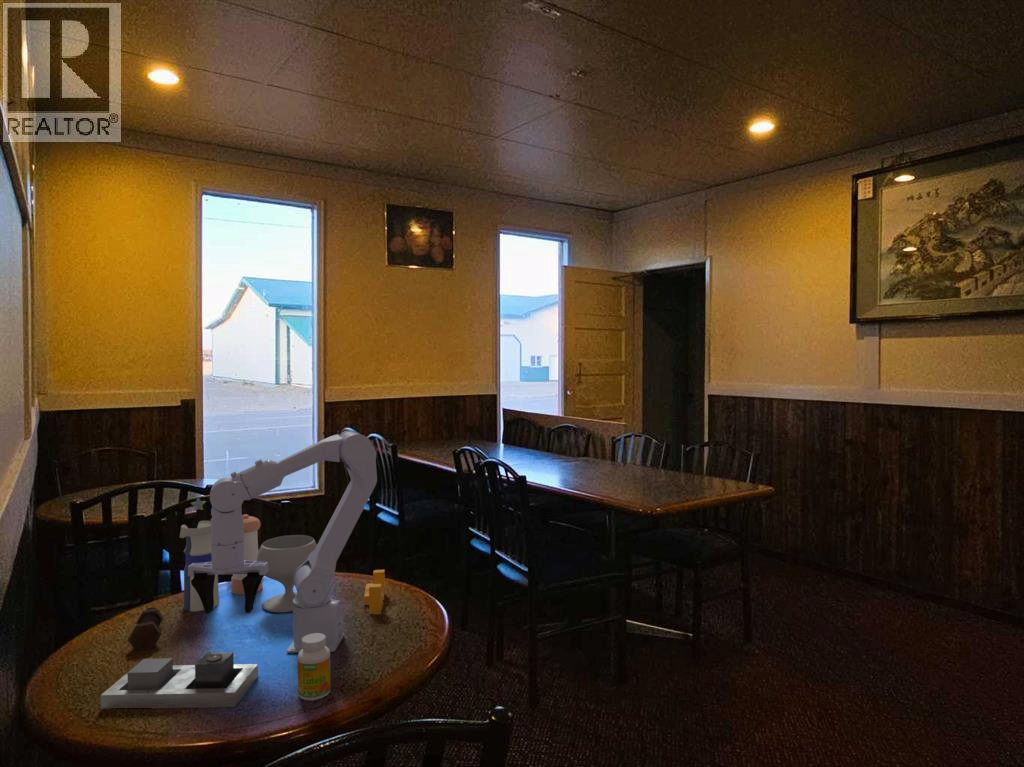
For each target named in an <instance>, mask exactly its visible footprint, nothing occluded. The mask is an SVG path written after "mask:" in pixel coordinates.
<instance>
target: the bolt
mask: <svg viewBox="0 0 1024 767" xmlns="http://www.w3.org/2000/svg"><path fill="white" fill-rule="evenodd" d="M163 619H164V616H163V614H162V613H161V611H160V610H159V609H158V608H156V607H148V608H146V609H145V610H142V612H141V614H140V615H139V617H138V619H137V620H136V624H135V626H134V628H133V629H132V631H131V633H130V634H129V637H128V639H127V642H129V644H130V646H131V647H132V648H133V650H135V651H144V650H149V649H150V650H151V649H152V648H155V646H156V645H157V643H158V641H159V639H160V637H161V635H162V631H161V629H160V628H159V627H160V625H161V623H162V621H163Z"/></svg>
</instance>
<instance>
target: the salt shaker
mask: <svg viewBox="0 0 1024 767" xmlns="http://www.w3.org/2000/svg"><path fill="white" fill-rule="evenodd" d="M242 515H243V524H244V560H248V561H257V557H258V552H259V544H258V543H259V542H258V541H259V539H258V538H259V537H258V536H259V535H258V530H259V529H260V528H261V526H262V524H261V521H260V519H259V518H258V517H255V516H250V515H249V514H247V513H246V514H242ZM246 576H247V574H232V576H231V577H230V578H231V579H230V582H231V583H230V585H231V588H230V589H231V594H233V595H236V596H237V595H239V596H240V595H241V596H242V595H244V596H245V594H244V588H243V584H242V579H243V578H244V577H246ZM262 589H263V579H262V580H261V583H260V585H259V587H258V590H257V592H260V591H261V590H262Z"/></svg>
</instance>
